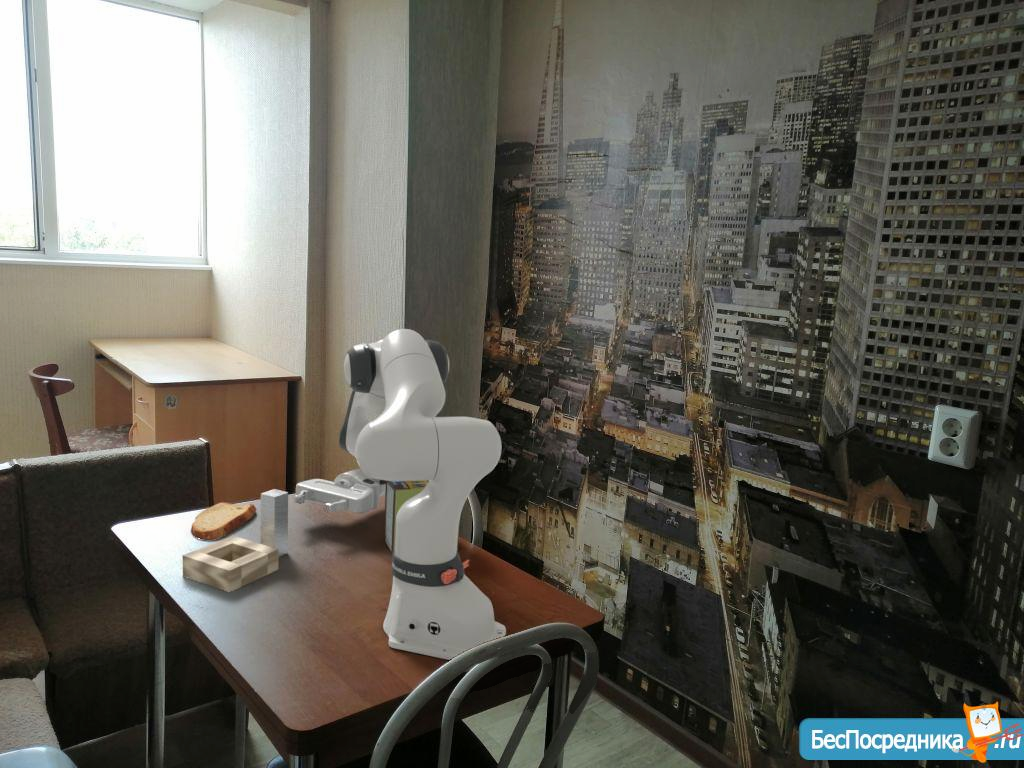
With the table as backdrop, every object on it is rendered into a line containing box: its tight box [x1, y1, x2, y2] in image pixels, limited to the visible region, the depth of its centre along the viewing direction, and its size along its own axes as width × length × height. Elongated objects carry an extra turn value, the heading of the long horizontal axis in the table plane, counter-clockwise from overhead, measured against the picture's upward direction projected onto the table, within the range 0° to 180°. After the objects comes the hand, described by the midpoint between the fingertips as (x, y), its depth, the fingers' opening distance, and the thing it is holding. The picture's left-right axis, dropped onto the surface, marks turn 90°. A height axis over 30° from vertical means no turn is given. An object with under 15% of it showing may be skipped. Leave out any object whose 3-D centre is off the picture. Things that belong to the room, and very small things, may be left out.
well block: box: [182, 535, 279, 593], centre depth 154 cm, size 13×13×4 cm
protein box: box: [383, 480, 459, 555], centre depth 173 cm, size 10×15×16 cm
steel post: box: [260, 488, 289, 558], centre depth 163 cm, size 4×4×14 cm
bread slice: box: [190, 501, 257, 541], centre depth 180 cm, size 18×18×4 cm
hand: (312, 504), depth 174 cm, fingers open, 8 cm apart
